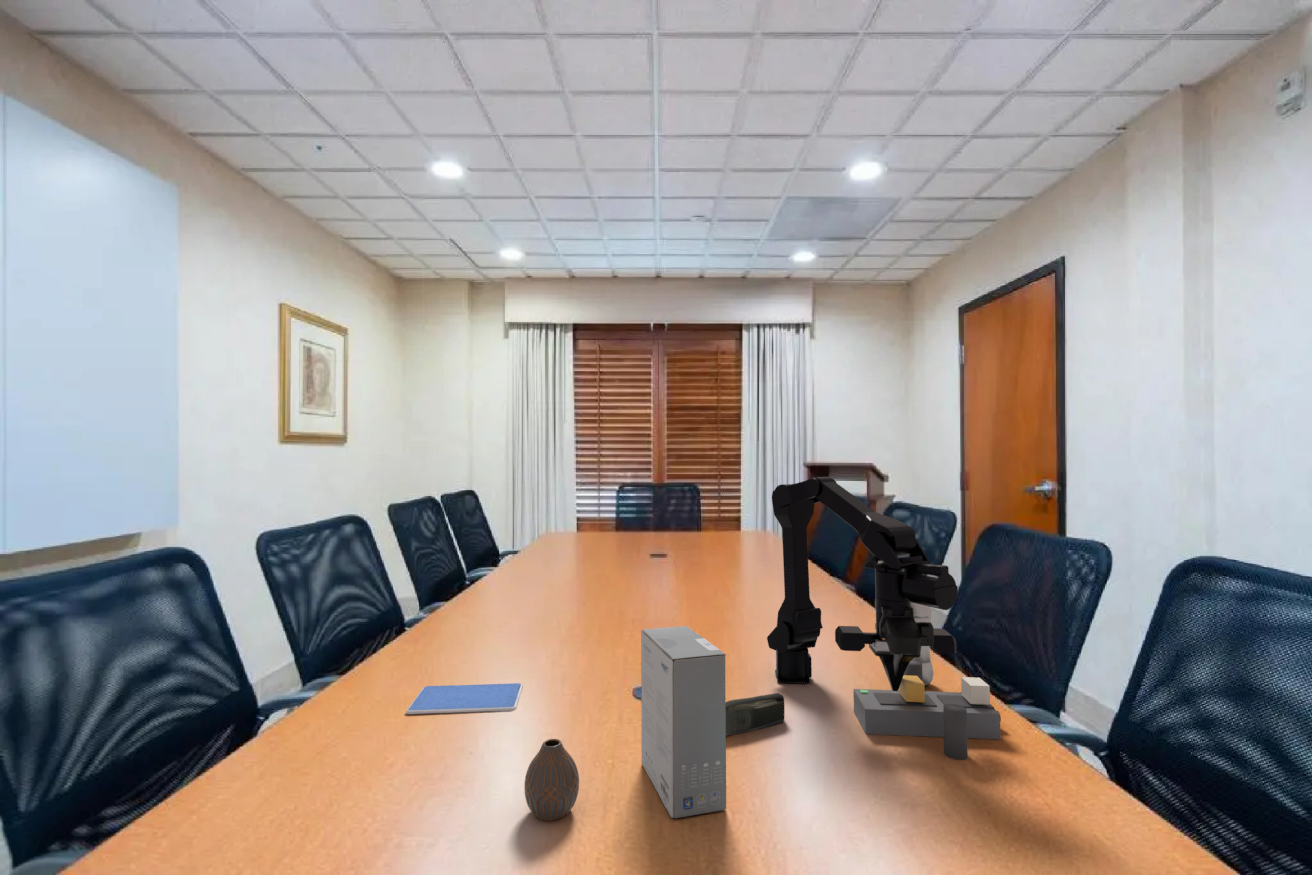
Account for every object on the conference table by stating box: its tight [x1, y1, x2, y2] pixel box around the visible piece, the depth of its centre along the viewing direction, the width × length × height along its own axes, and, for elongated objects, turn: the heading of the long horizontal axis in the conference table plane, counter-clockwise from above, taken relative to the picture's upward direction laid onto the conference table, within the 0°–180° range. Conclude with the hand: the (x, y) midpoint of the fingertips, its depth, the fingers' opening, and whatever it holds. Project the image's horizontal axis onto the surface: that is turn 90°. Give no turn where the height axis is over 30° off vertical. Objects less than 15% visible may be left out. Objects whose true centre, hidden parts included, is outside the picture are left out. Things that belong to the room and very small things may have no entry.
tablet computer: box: [405, 682, 524, 715], centre depth 117 cm, size 19×13×1 cm, turn 96°
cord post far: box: [904, 660, 922, 681], centre depth 115 cm, size 3×3×7 cm
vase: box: [524, 738, 580, 822], centre depth 80 cm, size 7×7×9 cm
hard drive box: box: [640, 625, 727, 819], centre depth 86 cm, size 16×8×20 cm, turn 17°
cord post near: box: [943, 704, 969, 761], centre depth 95 cm, size 3×3×7 cm
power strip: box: [853, 688, 1002, 740], centre depth 105 cm, size 23×9×4 cm, turn 84°
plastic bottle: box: [911, 602, 934, 687], centre depth 124 cm, size 6×7×20 cm
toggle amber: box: [898, 675, 926, 702], centre depth 105 cm, size 3×4×3 cm
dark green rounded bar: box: [726, 692, 785, 737], centre depth 104 cm, size 5×3×15 cm
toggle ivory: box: [960, 676, 991, 705], centre depth 104 cm, size 3×4×3 cm
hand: (894, 690), depth 106 cm, fingers closed
